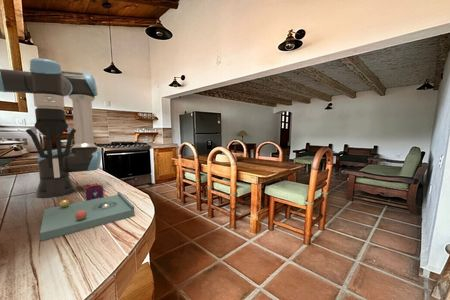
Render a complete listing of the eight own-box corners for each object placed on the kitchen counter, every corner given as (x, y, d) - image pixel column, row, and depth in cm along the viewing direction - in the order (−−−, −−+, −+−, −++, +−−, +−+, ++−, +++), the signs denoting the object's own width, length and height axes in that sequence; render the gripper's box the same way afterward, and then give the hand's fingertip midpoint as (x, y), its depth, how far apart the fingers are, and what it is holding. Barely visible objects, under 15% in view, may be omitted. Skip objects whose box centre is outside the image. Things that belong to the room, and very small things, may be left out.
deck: (45, 215, 75) (44, 205, 74) (119, 199, 92) (119, 191, 91) (40, 241, 57) (39, 229, 56) (134, 215, 73) (134, 206, 73)
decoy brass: (59, 207, 76) (58, 199, 76) (70, 205, 78) (69, 197, 78) (59, 209, 73) (58, 201, 73) (70, 207, 76) (69, 199, 75)
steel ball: (107, 201, 79) (111, 207, 80) (99, 205, 77) (103, 211, 78) (108, 203, 76) (112, 209, 78) (100, 208, 75) (104, 214, 76)
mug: (86, 205, 85) (85, 190, 84) (86, 198, 93) (84, 185, 92) (104, 201, 89) (103, 187, 88) (102, 196, 97) (101, 182, 96)
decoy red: (75, 219, 65) (74, 210, 65) (86, 216, 67) (86, 207, 67) (75, 222, 63) (74, 213, 63) (87, 219, 65) (87, 210, 65)
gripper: (20, 106, 58) (29, 182, 60) (75, 108, 66) (81, 175, 69) (24, 108, 63) (32, 177, 66) (74, 110, 72) (79, 172, 75)
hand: (57, 176), depth 68 cm, fingers closed
